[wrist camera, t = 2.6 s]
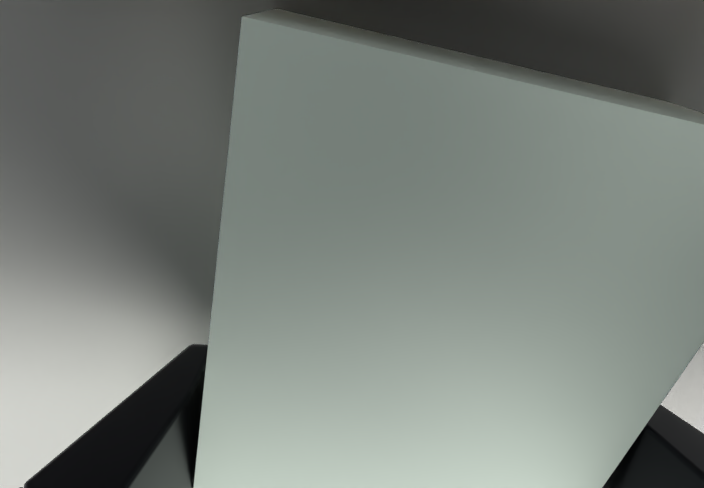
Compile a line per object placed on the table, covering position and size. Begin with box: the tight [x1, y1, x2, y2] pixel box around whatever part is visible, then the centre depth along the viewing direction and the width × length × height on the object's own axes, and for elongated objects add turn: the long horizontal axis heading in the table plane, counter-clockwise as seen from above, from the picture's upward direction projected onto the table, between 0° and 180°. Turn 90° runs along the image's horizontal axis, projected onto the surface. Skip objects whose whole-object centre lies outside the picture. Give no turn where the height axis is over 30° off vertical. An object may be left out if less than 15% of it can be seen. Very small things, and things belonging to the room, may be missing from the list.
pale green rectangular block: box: [193, 8, 704, 488], centre depth 9 cm, size 6×11×3 cm, turn 168°
